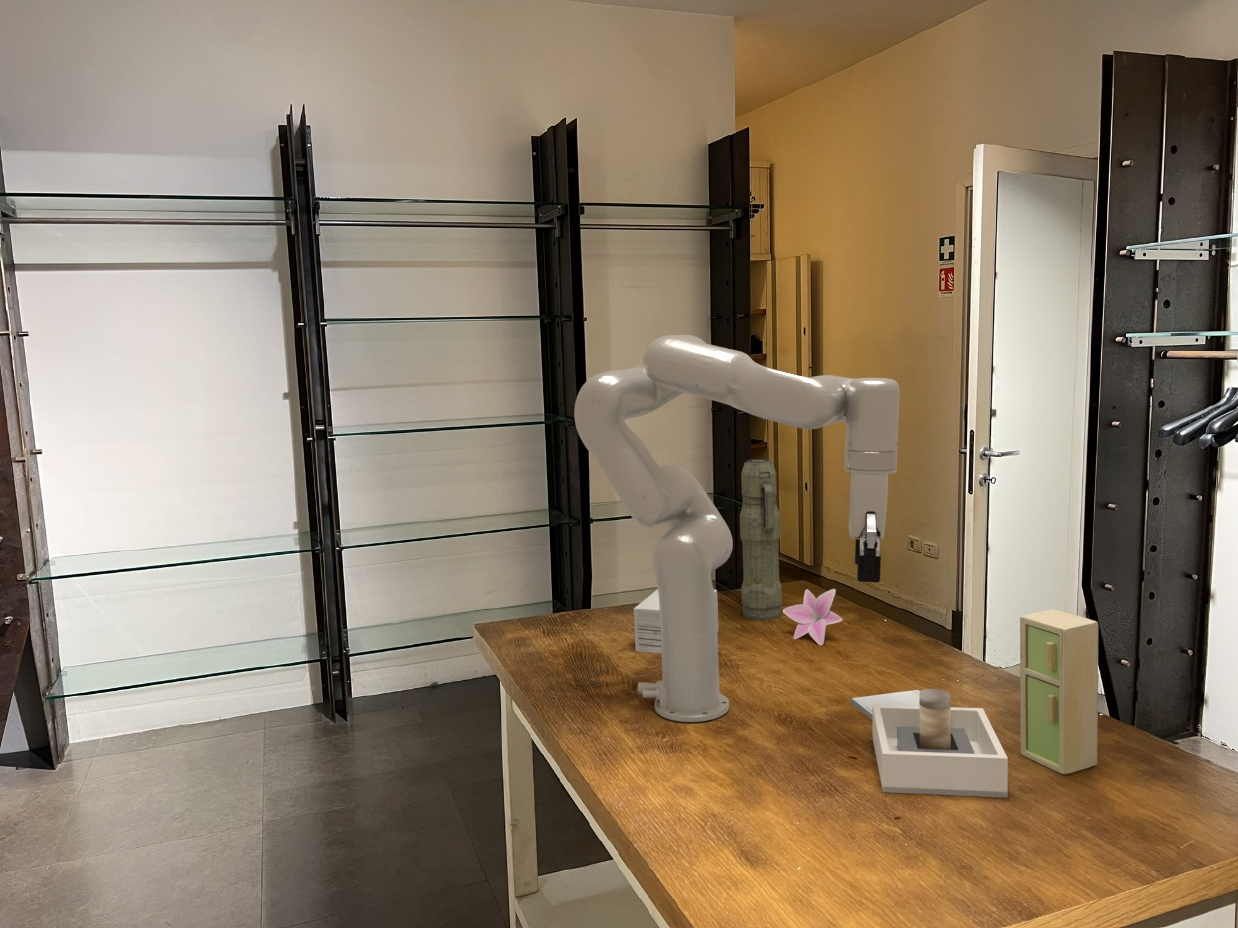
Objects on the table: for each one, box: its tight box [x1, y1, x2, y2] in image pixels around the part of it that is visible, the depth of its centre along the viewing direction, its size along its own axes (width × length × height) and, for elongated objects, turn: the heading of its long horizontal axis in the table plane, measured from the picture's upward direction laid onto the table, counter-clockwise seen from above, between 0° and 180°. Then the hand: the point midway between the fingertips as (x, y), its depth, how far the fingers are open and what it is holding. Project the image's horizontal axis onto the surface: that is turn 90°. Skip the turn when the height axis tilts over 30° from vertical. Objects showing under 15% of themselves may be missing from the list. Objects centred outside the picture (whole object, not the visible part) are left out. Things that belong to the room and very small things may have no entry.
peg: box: [919, 688, 952, 750], centre depth 134 cm, size 4×4×10 cm
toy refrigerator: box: [1019, 608, 1099, 775], centre depth 133 cm, size 8×7×21 cm
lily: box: [782, 588, 844, 646], centre depth 194 cm, size 12×12×10 cm
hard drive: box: [849, 689, 921, 722], centre depth 156 cm, size 2×8×12 cm
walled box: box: [872, 705, 1009, 799], centre depth 134 cm, size 16×17×6 cm
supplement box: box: [633, 588, 720, 654], centre depth 195 cm, size 17×13×9 cm
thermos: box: [739, 458, 783, 621], centre depth 209 cm, size 9×12×35 cm
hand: (866, 572), depth 142 cm, fingers open, 9 cm apart
